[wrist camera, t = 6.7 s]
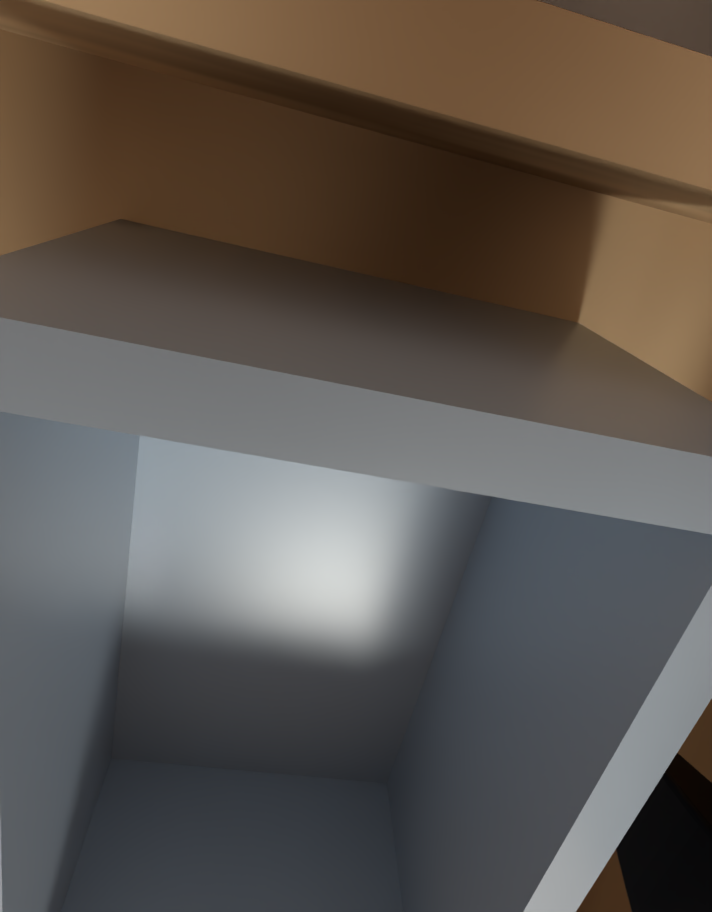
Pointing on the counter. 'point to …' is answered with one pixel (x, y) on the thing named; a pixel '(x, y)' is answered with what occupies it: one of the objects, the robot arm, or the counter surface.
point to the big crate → (386, 159)
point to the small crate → (330, 587)
